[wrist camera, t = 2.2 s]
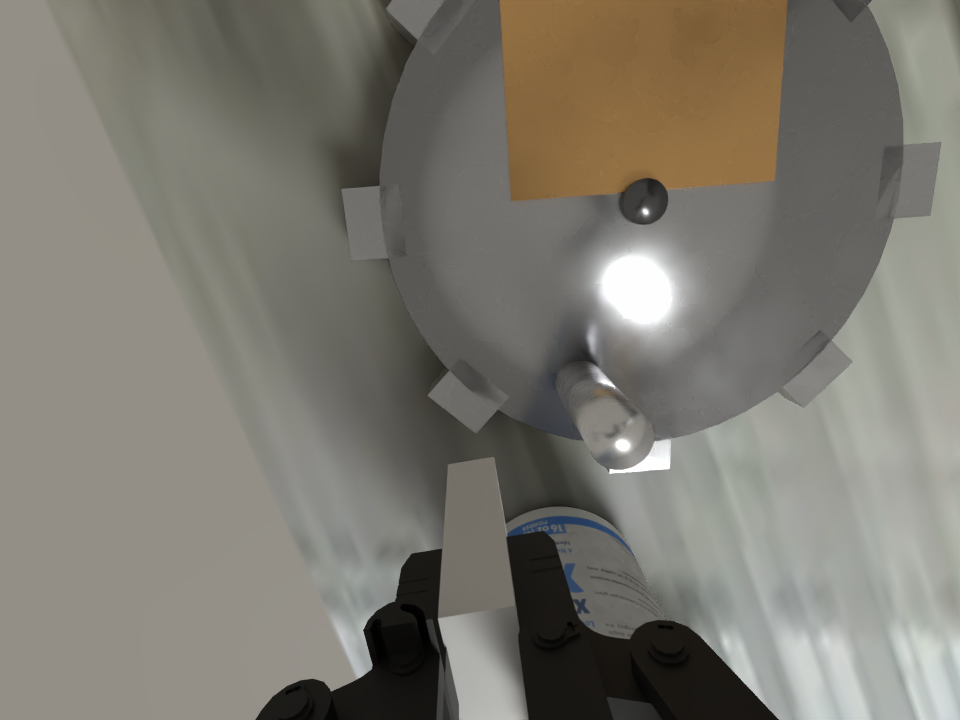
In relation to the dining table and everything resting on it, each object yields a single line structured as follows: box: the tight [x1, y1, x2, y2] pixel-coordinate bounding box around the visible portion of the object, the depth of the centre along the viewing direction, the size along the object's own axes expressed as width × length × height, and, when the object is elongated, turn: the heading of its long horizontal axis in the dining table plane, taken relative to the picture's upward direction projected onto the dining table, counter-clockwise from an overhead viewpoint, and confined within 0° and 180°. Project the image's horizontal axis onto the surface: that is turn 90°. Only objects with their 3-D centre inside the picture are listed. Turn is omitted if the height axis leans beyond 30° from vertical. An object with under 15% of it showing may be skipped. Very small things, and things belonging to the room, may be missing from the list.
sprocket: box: [342, 0, 941, 473], centre depth 20 cm, size 27×27×9 cm
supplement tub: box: [506, 507, 666, 720], centre depth 23 cm, size 10×10×15 cm
